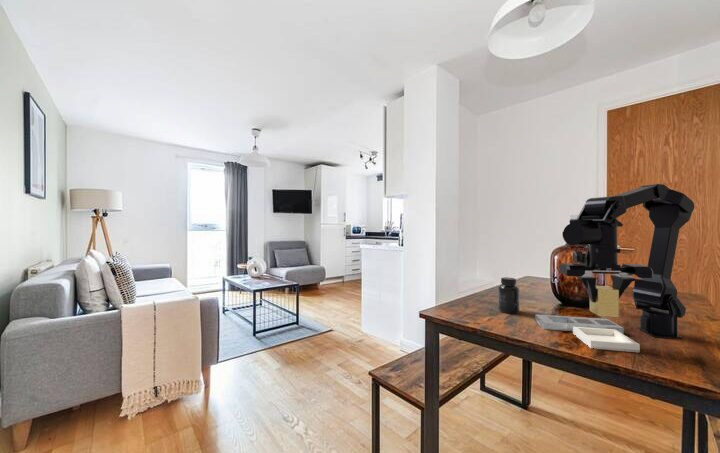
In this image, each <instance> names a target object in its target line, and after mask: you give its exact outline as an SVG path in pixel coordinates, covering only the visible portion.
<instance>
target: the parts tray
mask: <svg viewBox="0 0 720 453" xmlns="http://www.w3.org/2000/svg"><path fill="white" fill-rule="evenodd" d="M572 334H573V335H574V336H575V335H576V336H575V337H577V338H578V339H579V340H580V341H581V342H583V343H584V344H585V345H586V346H587V345H588V346H587V347H588V348H590V349H593V348H594V349H595V350H605V351H617V352H618V351H619V352H631V353H639V354H640V352H641V351H640V350H641V349H640V347H641V346H640V343H639V342H636V341H635V340H634V339H631V338H630V337H628V336H627V335H625V334H624V335H623V334H622V333H620V332H618V331H617V330H615V329H600V328H586V327H573V331H572Z"/></svg>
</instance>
